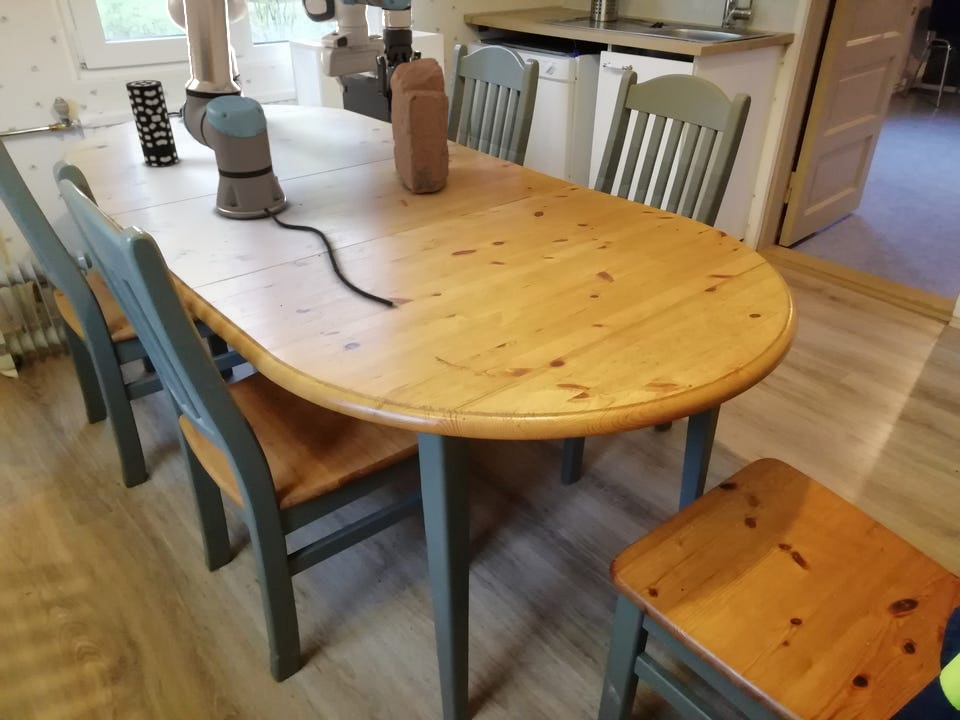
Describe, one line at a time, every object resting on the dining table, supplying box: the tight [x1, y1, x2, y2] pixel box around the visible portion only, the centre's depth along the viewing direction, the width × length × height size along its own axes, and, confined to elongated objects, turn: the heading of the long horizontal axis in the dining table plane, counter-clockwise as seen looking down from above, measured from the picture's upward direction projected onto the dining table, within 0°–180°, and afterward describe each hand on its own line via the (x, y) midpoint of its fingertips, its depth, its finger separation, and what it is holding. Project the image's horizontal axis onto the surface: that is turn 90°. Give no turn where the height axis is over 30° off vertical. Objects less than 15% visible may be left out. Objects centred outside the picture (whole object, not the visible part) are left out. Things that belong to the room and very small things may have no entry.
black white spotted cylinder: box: [125, 79, 179, 167], centre depth 181 cm, size 8×8×20 cm
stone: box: [390, 57, 450, 194], centre depth 168 cm, size 22×11×28 cm, turn 18°
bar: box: [341, 73, 392, 125], centre depth 192 cm, size 27×6×9 cm, turn 44°
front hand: (401, 120), depth 188 cm, fingers closed on bar, 6 cm apart
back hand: (357, 89), depth 198 cm, fingers open, 8 cm apart
